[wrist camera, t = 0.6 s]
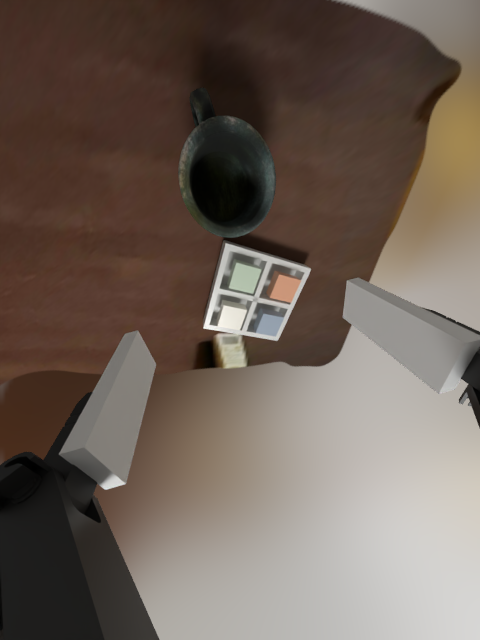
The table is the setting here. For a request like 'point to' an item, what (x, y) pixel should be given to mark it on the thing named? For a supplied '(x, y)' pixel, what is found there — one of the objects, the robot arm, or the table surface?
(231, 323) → the key ivory
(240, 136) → the mug
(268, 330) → the key slate
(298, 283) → the key terracotta
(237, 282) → the key sage
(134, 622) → the robot arm
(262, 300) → the frame
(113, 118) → the table surface
